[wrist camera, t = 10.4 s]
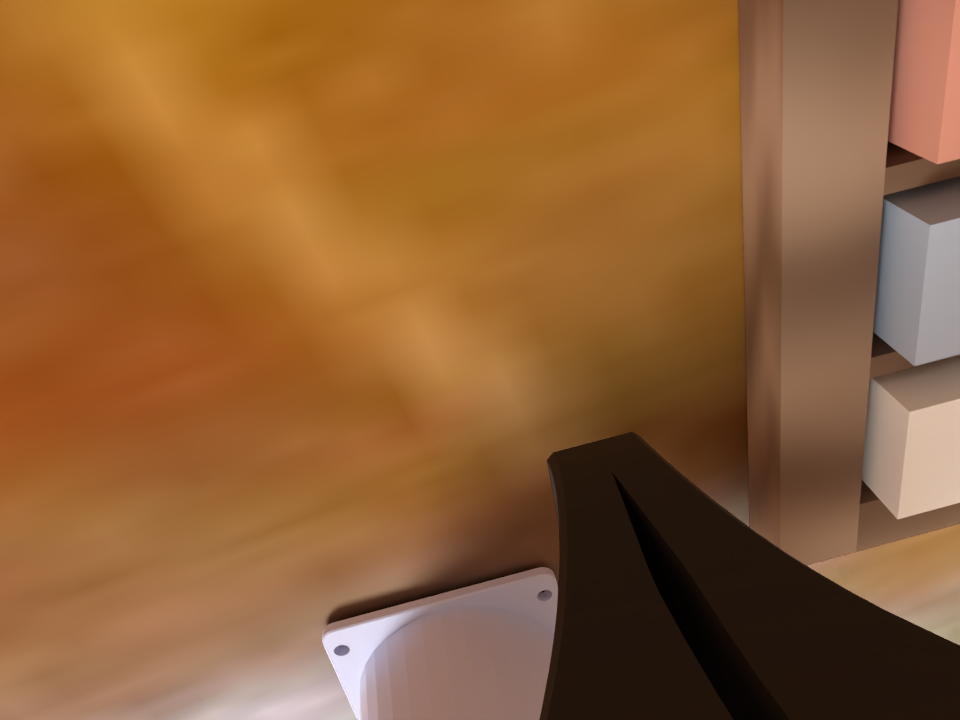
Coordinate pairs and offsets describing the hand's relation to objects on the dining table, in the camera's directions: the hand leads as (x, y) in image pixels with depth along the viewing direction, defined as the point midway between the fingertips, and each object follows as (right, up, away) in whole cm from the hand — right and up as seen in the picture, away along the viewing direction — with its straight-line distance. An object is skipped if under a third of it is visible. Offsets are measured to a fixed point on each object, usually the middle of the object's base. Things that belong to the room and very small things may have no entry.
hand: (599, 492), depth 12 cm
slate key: (+11, +6, +10) cm, 16 cm away
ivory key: (+12, +1, +13) cm, 18 cm away
